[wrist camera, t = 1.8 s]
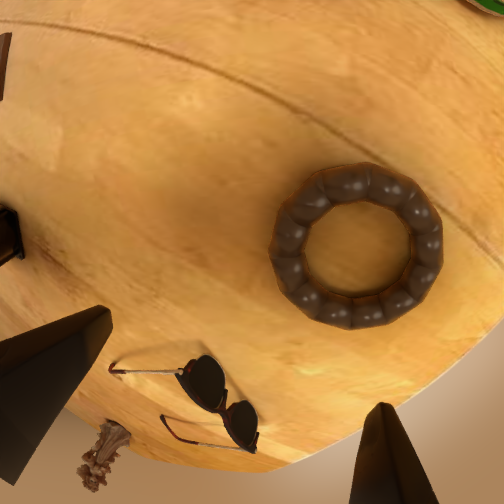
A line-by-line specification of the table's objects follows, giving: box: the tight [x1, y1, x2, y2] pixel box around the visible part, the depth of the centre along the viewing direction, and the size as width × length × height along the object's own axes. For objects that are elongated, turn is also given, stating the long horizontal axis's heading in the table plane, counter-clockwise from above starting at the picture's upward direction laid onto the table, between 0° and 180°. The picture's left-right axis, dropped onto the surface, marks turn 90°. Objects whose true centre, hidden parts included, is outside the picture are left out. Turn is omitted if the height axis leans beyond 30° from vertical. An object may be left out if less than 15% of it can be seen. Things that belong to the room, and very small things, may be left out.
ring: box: [268, 162, 443, 330], centre depth 18 cm, size 11×11×2 cm
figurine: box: [76, 421, 131, 492], centre depth 39 cm, size 7×6×15 cm
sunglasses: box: [108, 354, 259, 454], centre depth 30 cm, size 14×16×5 cm
